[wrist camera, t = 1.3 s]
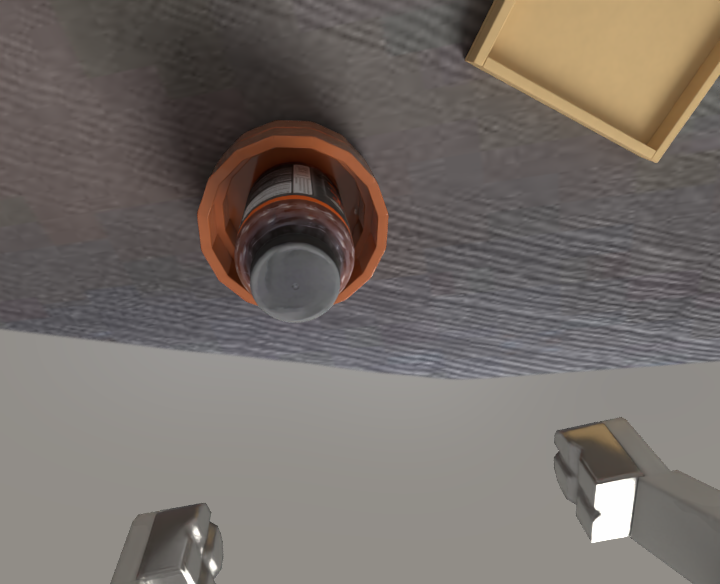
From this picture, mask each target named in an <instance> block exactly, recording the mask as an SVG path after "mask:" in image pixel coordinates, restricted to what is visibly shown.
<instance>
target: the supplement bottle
mask: <svg viewBox="0 0 720 584" xmlns="http://www.w3.org/2000/svg"><path fill="white" fill-rule="evenodd" d="M234 259H235V266H236V270H237V273H238V276H239V278H240V280H241V282H242V284H243V285H244V287H245V288H246V289H247V291H248V292H249V293H250V294H251V295H252V296H253V298H254V300H255V302H256V303H257V305H258V306H259V307H260V308H261V310H263V311H264V312H265V313H267V314H268V315H269V316H271V317H273V318H275V319H277V320H280V321H284V322H290V323H299V322H306V321H309V320H312V319H315V318H317V317H319V316H321V315H322V314H324V313H325V312H327V311H328V309H330V308H331V307H332V305H333V304H334V302H335V301H336V299H337V297H338V294H339V293H340V292H341V291H342V290H343V289H344V287H345V286H346V284H347V283H348V281H349V279H350V277H351V274H352V272H353V268H354V261H355V249H354V244H353V239H352V235H351V231H350V228H349V224H348V221H347V218H346V215H345V210H344V207H343V203H342V200H341V196H340V194H339V192H338V190H337V188H336V186H335V185H334V183H333V182H332V180H331V179H330V178H329V177H328V176H327V175H326V174H325V173H324V172H322V171H321V170H320V169H318V168H316V167H314V166H312V165H309V164H305V163H301V162H285V163H281V164H278V165H275V166H273V167H271V168H269V169H268V170H266V171H265V172H264V173H262V174H261V175H260V176H259V177H258V179H257V180H256V181H255V182H254V184H253V186H252V188H251V190H250V192H249V195H248V198H247V202H246V205H245V209H244V212H243V216H242V220H241V223H240V227H239V230H238V234H237V239H236V243H235V250H234Z"/></svg>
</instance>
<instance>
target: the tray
mask: <svg viewBox="0 0 720 584" xmlns="http://www.w3.org/2000/svg"><path fill="white" fill-rule="evenodd" d="M465 61H466V62H468V63H470V64H472V65H474V66H475V67H477V68H479V69H481V70H483V71H484V72H486V73H488V74H490V75H492V76H494V77H495V78H497V79H499V80H501V81H503V82H505V83H506V84H508V85H510V86H512V87H514V88H516V89H517V90H519V91H521V92H523V93H525V94H527V95H528V96H530V97H532V98H534V99H536V100H538V101H539V102H541V103H543V104H545V105H547V106H548V107H550V108H552V109H554V110H556V111H558V112H559V113H561V114H563V115H565V116H567V117H569V118H570V119H572V120H574V121H576V122H578V123H580V124H581V125H583V126H585V127H587V128H589V129H591V130H592V131H594V132H596V133H598V134H600V135H602V136H603V137H605V138H607V139H609V140H611V141H612V142H614V143H616V144H618V145H620V146H622V147H623V148H625V149H627V150H629V151H631V152H633V153H634V154H636V155H638V156H640V157H642V158H645V159H647V160H650V161H653V162H655V163H657V162H658V161H659V160H660V158H661V157H662V155H663V154H664V152H665V151H666V150H667V148H668V147H669V145H670V144H671V143H672V141H673V140H674V138H675V137H676V136H677V134H678V133H679V131H680V130H681V128H682V127H683V126H684V124H685V123H686V121H687V120H688V119H689V117H690V116H691V114H692V113H693V112H694V110H695V109H696V107H697V106H698V104H699V103H700V102H701V100H702V99H703V97H704V96H705V95H706V93H707V92H708V90H709V89H710V88H711V86H712V85H713V83H714V82H715V80H716V79H717V78H718V76H719V75H720V0H494V2H493V4H492V6H491V8H490V10H489V12H488V14H487V16H486V18H485V20H484V22H483V24H482V26H481V28H480V30H479V32H478V34H477V36H476V38H475V40H474V42H473V44H472V46H471V48H470V50H469V52H468V54H467V56H466V58H465Z"/></svg>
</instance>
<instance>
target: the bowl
mask: <svg viewBox="0 0 720 584" xmlns="http://www.w3.org/2000/svg"><path fill="white" fill-rule="evenodd" d="M285 162H301V163H305V164H309V165H312V166H314V167H316V168H318V169H320V170H321V171H322V172H324V173H325V174H326V175H327V176H328V177H329V178H330V179H331V180H332V182H333V183H334V185H335V186H336V188H337V190H338V192H339V194H340V196H341V200H342V203H343V207H344V210H345V215H346V218H347V221H348V224H349V228H350V231H351V235H352V239H353V244H354V249H355V261H354V268H353V272H352V274H351V277H350V279H349V281H348V283H347V284H346V286H345V287H344V289H343V290H342V291H341V292H340V293H339V294H338V297H337V299H336V301H335V302H334V304H336V303H339V302H341V301H344V300H346V299H347V298H349V297H350V296H351V295H352V294H353V293H354V292H355V291H357V290H358V289H359V288H360V287H361V286H362V285H363V284H365V283H366V282H367V281H368V280H369V279H370V278H371V277H372V275H373V273H374V271H375V269H376V267H377V265H378V263H379V261H380V259H381V257H382V255H383V253H384V251H385V250H386V243H387V229H388V211H387V208H386V206H385V203H384V200H383V197H382V194H381V192H380V189H379V186H378V183H377V181H376V179H375V177H374V175H373V173H372V171H371V169H370V168H369V166H368V164H367V162H366V160H365V159H364V158H363V157H362V156H361V155H360V154H359V152H358V151H357V150H356V149H355V148H354V147H353V146H352V145H351V144H350V143H349V142H348V141H347V139H346V138H345V137H344V136H342V135H341V134H339V133H336V132H334V131H332V130H330V129H328V128H325V127H323V126H321V125H319V124H316V123H314V122H312V121H291V120H276V121H272V122H270V123H267V124H265V125H262V126H260V127H258V128H255V129H253V130H250V131H248V132H245V133H244V134H242V135H241V136H240V137H239V138H238V139H237V140H236V141H235V142H234V144H233V145H232V146H231V147H230V148H229V149H228V150H227V151H226V152H225V153H224V154H223V155H222V156H221V157H220V159H219V161H218V163H217V165H216V166H215V168H214V170H213V172H212V174H211V175H210V177H209V179H208V182H207V185H206V188H205V191H204V194H203V197H202V200H201V203H200V206H199V209H198V212H197V220H198V228H199V236H200V245H201V251H202V252H203V254H204V256H205V258H206V259H207V261H208V263H209V264H210V266H211V268H212V269H213V271H214V273H215V275H216V276H217V278H218V280H220V282H222V283H223V284H224V285H226V286H227V287H228V288H229V289H231V290H232V291H233V292H235V293H236V294H237V295H238V296H240V297H241V298H242V299H244V300H245V301H246V302H248V303H251V304H254V305H257V303H256V302H255V300H254V298H253V296H252V295H251V294H250V293H249V292H248V291H247V289H246V288H245V287H244V285H243V284H242V282H241V280H240V278H239V276H238V273H237V270H236V266H235V259H234V250H235V243H236V239H237V234H238V230H239V227H240V223H241V220H242V216H243V212H244V209H245V205H246V202H247V198H248V195H249V192H250V190H251V188H252V186H253V184H254V182H255V181H256V180H257V179H258V177H259V176H260V175H261V174H262V173H264V172H265V171H266V170H268V169H269V168H271V167H273V166H275V165H278V164H281V163H285ZM334 304H333V305H334ZM257 306H258V305H257Z"/></svg>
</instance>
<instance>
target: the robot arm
mask: <svg viewBox="0 0 720 584" xmlns="http://www.w3.org/2000/svg"><path fill="white" fill-rule="evenodd" d="M554 443H555V445H556V447H557V448H558V450H559V452H558V453H557V454H556V456H555V457H554V469H555V473H556V477H557V481H558V483H559V486H560V488H561V490H562V492H563V494H564V495H565V497H566V499H568V500H569V501H571V502H572V503H574V504H576V505H577V506H576V516H577V518H578V520H579V522H580V524H581V525H582V527H583V529H584V530H585V532H586V534H587V535H588V537H589V539H590V541H591V542H598V541H604V540H609V539H615V538H621V537H626V536H631V539H633V540H634V541H635V542H637V543H638V544H639V545H641V546H642V547H644V548H645V549H646V550H648V551H649V552H650V553H652V554H653V555H655V556H656V557H657V558H659V559H660V560H661V561H663V562H664V563H666V564H667V565H668V566H670V567H671V568H672V569H674V570H675V571H676V572H678V573H679V574H680V575H682V576H683V577H684V578H686V579H687V580H689V581H690V582H691V583H693V584H720V490H718V489H715V488H713V487H711V486H709V485H707V484H705V483H703V482H701V481H699V480H696V479H695V478H693V477H691V476H688V475H687V474H684V473H682V472H680V471H678V470H675V471H670V470H669V469H668V468H667V467H666V465H665V464H664V463H663V462H662V461H661V460H660V458H659V457H658V456H657V455H656V454H655V453H654V451H653V450H652V449H651V448H650V447H649V446H648V444H647V443H646V442H645V441H644V440H643V439H642V437H641V436H640V435H639V434H638V433H637V432H636V430H635V429H634V428H633V427H632V426H631V425H630V424H629V422H627V420H626V419H624V418H622V417H619V418H615V419H610V420H605V421H600V422H594V423H590V424H586V425H581V426H576V427H571V428H567V429H562V430H557V431H556V433H555V440H554ZM210 516H211V511H210V510H209V508H208V506H207V504H206V503H200V504H194V505H188V506H183V507H177V508H171V509H166V510H160V511H156V512H151V513H145V514H139V515H138V516H137V517H136V518H135V519H134V521H133V522H132V525H131V528H130V530H129V533H128V536H127V539H126V541H125V544H124V547H123V550H122V552H121V555H120V558H119V561H118V564H117V567H116V569H115V572H114V575H113V577H112V580H111V583H110V584H215V582H214V578H215V577H216V576H217V574H218V573H219V572H220V570H221V568H222V561H223V541H222V537H221V533H220V531H219V528H218V526H217V525H215V524H213V523H211V522H210Z"/></svg>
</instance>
